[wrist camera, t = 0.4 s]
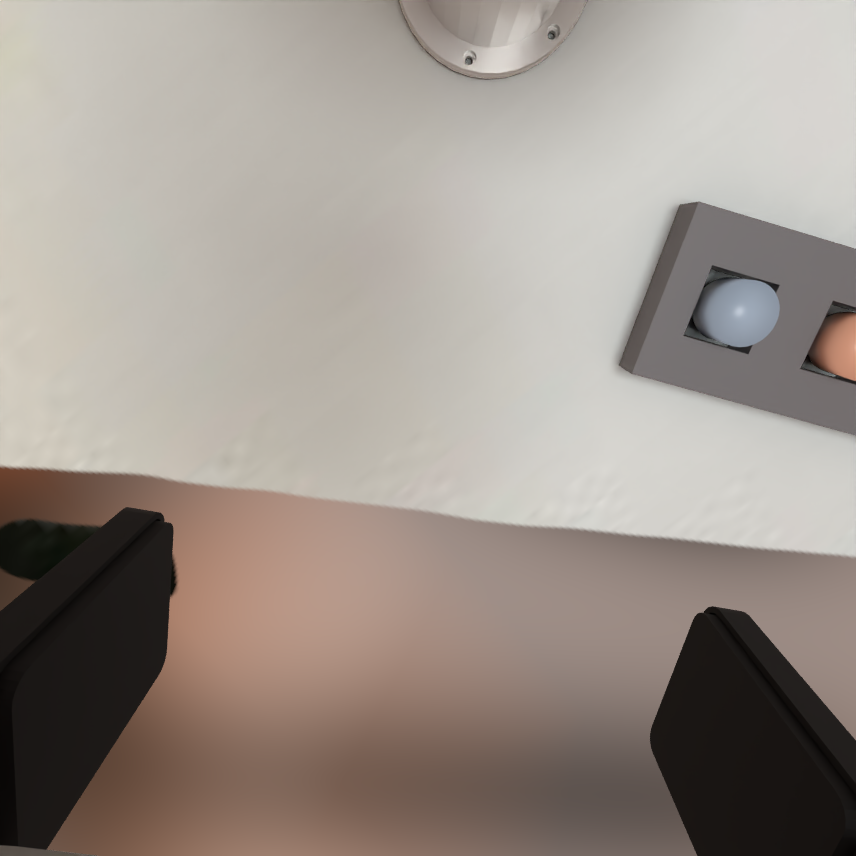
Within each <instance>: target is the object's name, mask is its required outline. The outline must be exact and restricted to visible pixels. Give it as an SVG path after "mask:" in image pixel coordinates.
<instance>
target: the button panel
mask: <svg viewBox="0 0 856 856" xmlns="http://www.w3.org/2000/svg"><path fill="white" fill-rule="evenodd" d="M711 269H713V270H716V271H720V272H723V273H726V274H730V275H733V276H737V277H740V278H744V279H748V280H757V281H761V282H764V283H766V284H767V285H769V286H770V287H771V288H772V289H773V290H774V291H775V293H776V295H777V297H778V300H779V305H780V311H779V317H778V320H777V322H776V324H775V326H774V328H773V329H772V331H771V332H770V333H769V334H768V335H767V336H766V337H765V338H764V339H763V340H761V341H760V342H758V343H756V344H754V345H751V346H746V347H734V346H730V345H729V346H728V347H725V346H722V345H718V344H715V343H711V342H708V341H704V340H701V339H697V338H693V337H690V336H686V335H684V333H685V331H686V328H687V326H688V323H689V321H690V318H691V316H692V313H693V311H694V309H695V306H696V304H697V301H698V299H699V296H700V294H701V291H702V289H703V287H704V284H705V282H706V279H707V277H708V274H709V272H710V270H711ZM831 304H832V305H836V306H839V307H843V308H846V309H850V310H853V311H856V249H854V248H851V247H848V246H844V245H841V244H838V243H834V242H831V241H828V240H824V239H821V238H818V237H815V236H811V235H808V234H805V233H801V232H798V231H795V230H791V229H788V228H785V227H781V226H778V225H775V224H771V223H768V222H765V221H761V220H758V219H755V218H751V217H748V216H745V215H741V214H738V213H735V212H731V211H728V210H725V209H721V208H718V207H715V206H712V205H708V204H705V203H702V202H694V203H688V204H682V205H680V207H679V209H678V212H677V214H676V217H675V220H674V222H673V225H672V228H671V230H670V233H669V235H668V238H667V241H666V243H665V246H664V249H663V251H662V254H661V256H660V259H659V262H658V264H657V267H656V270H655V272H654V275H653V277H652V280H651V283H650V285H649V288H648V291H647V293H646V296H645V298H644V301H643V304H642V306H641V309H640V312H639V314H638V317H637V319H636V322H635V325H634V327H633V330H632V333H631V335H630V338H629V340H628V343H627V346H626V348H625V351H624V354H623V356H622V359H621V361H620V364H619V366H621V367H622V368H624V369H626V370H627V371H629V372H630V373H632V374H635V375H639V376H642V377H646V378H650V379H653V380H657V381H660V382H664V383H668V384H671V385H675V386H679V387H682V388H686V389H689V390H693V391H697V392H700V393H704V394H708V395H711V396H715V397H719V398H722V399H726V400H729V401H733V402H737V403H740V404H744V405H748V406H751V407H755V408H758V409H762V410H766V411H769V412H773V413H777V414H780V415H784V416H787V417H791V418H795V419H798V420H802V421H806V422H809V423H813V424H816V425H820V426H824V427H827V428H831V429H835V430H838V431H842V432H845V433H849V434H853V435H856V381H854V380H851V379H848V378H844V377H841V376H838V375H837V376H836V378H835V377H831V376H828V375H824V374H821V373H817V372H814V371H810V370H807V369H803V368H801V366H802V364H803V362H804V360H805V358H806V356H807V353H808V351H809V349H810V347H811V345H812V343H813V341H814V339H815V337H816V335H817V333H818V331H819V329H820V327H821V324H822V322H823V320H824V318H825V316H826V314H827V312H828V310H829V308H830V306H831Z"/></svg>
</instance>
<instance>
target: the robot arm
mask: <svg viewBox="0 0 856 856" xmlns="http://www.w3.org/2000/svg"><path fill="white" fill-rule="evenodd" d="M399 2H400V5H401V9H402V12H403V14H404V16H405V18H406V21H407V23H408V25H409V27H410V29H411V31H412V32H413V34H414V35H415V37H416V38H417V39H418V41H419V42H420V44H421V45H422V46H423V48H425V49H426V50H427V51H428V52H429V53H430V54H431V55H432V56H433V57H434V58H435V59H436V60H437V61H439V62H440V63H442V64H443V65H445V66H447V67H448V68H450V69H451V70H453V71H456V72H459V73H461V74H464V75H467V76H470V77H477V78H484V79H494V78H506V77H509V76H512V75H516V74H519V73H522V72H525V71H526V70H528V69H530V68H532V67H534V66H536V65H537V64H539V63H541V62H542V61H543V60H544V59H546V58H547V57H548V56H549V55H551V54H552V53H553V52H554V51H555V50H556V49H557V48H558V47H559V46H560V44H561V43H562V42H563V41H564V40H565V39H566V37H567V36H568V35H569V33H570V32H571V30H572V29H573V27H574V26H575V24H576V23H577V21H578V19H579V17H580V15H581V13H582V11H583V9H584V7H585V5H586V3H587V0H399ZM548 33H553V34H554V36H555V38H554V39H553V40H551V39H549V38H548ZM467 58H471V59H472V61H473V63H472V64H471V65H467V64H466V63H465V60H466V59H467ZM172 548H173V526H172V524H171V523H167V522H164V517H163V515H162V514H161V513H159V512H153V511H147V510H141V509H136V508H129V507H126V508H124V509H123V510H121V511H120V512H119V513H118V514H117V515H115V516H114V517H113V518H112V519H111V520H109V522H107V523H106V524H105V525H103V526H102V527H101V528H100V529H99V530H98V531H96V532H95V533H94V534H93V535H92V536H90V537H89V538H88V539H87V540H86V541H84V542H83V543H82V544H81V545H80V546H79V547H77V548H76V549H75V550H74V551H73V552H71V553H70V554H69V555H68V556H67V557H66V558H64V559H63V560H62V561H61V562H60V563H58V564H57V565H56V566H55V567H54V568H52V569H51V570H50V571H49V572H48V573H47V574H45V575H44V576H43V577H42V578H41V579H39V580H38V581H36V582H35V583H34V584H32V585H31V586H30V587H29V588H28V589H27V590H25V591H24V592H23V593H22V594H20V595H19V596H18V597H17V598H16V599H14V600H13V601H12V602H11V603H10V604H9V605H7V606H6V607H5V608H4V609H3V610H1V611H0V856H95V855H86V854H78V853H69V852H60V851H52V850H46V849H47V848H48V846H49V845H50V843H51V842H52V840H53V838H54V837H55V835H56V834H57V832H58V831H59V829H60V828H61V826H62V824H63V823H64V821H65V820H66V818H67V817H68V815H69V814H70V812H71V810H72V809H73V807H74V806H75V804H76V803H77V801H78V799H79V798H80V797H81V795H82V793H83V792H84V790H85V789H86V787H87V786H88V784H89V782H90V781H91V779H92V778H93V776H94V775H95V773H96V772H97V770H98V769H99V767H100V765H101V764H102V762H103V761H104V759H105V758H106V756H107V755H108V753H109V751H110V750H111V748H112V747H113V745H114V744H115V742H116V741H117V739H118V737H119V736H120V734H121V733H122V731H123V730H124V728H125V727H126V725H127V723H128V722H129V720H130V719H131V717H132V716H133V714H134V713H135V711H136V709H137V708H138V706H139V705H140V703H141V701H142V700H143V699H144V697H145V696H146V694H147V692H148V691H149V689H150V688H151V686H152V685H153V683H154V681H155V680H156V678H157V677H158V675H159V673H160V672H161V670H162V667H163V665H164V662H165V657H166V653H167V639H168V620H169V602H170V584H171V566H172ZM650 743H651V749H652V751H653V754H654V756H655V758H656V761H657V763H658V766H659V768H660V770H661V773H662V775H663V777H664V780H665V782H666V784H667V787H668V789H669V791H670V794H671V796H672V798H673V801H674V803H675V805H676V807H677V810H678V812H679V814H680V817H681V819H682V821H683V824H684V826H685V828H686V830H687V833H688V835H689V838H690V840H691V842H692V844H693V847H694V849H695V851H696V854H697V856H856V740H855V739H854V738H853V737H852V736H851V734H850V733H849V732H848V731H847V730H846V729H845V727H844V726H843V725H842V724H841V723H840V722H839V720H838V719H837V718H836V717H835V716H834V715H833V713H832V712H831V711H830V710H829V709H828V707H827V706H826V705H825V704H824V703H823V702H822V701H821V699H820V698H819V697H818V696H817V695H816V693H815V692H814V691H813V690H812V689H811V688H810V686H809V685H808V684H807V683H806V682H805V681H804V679H803V678H802V677H801V676H800V675H799V674H798V672H797V671H796V670H795V669H794V668H793V667H792V665H791V664H790V663H789V662H788V661H787V659H786V658H785V657H784V656H783V655H782V654H781V652H779V650H778V649H777V648H776V647H775V646H774V644H773V643H772V642H771V641H770V640H769V638H768V637H767V636H766V635H765V634H764V633H763V631H762V630H761V629H760V628H759V627H758V626H757V624H756V623H755V622H754V621H753V620H752V619H751V617H750V616H749V615H748V614H746V613H745V612H742V611H737V610H731V609H725V608H719V607H713V606H712V607H708V608H707V609H706V610H705V611H704V613H698V614H697V615H696V616H695V618H694V619H693V622H692V624H691V627H690V629H689V632H688V635H687V637H686V640H685V643H684V645H683V647H682V650H681V653H680V655H679V658H678V660H677V663H676V666H675V668H674V671H673V673H672V676H671V678H670V681H669V684H668V686H667V689H666V691H665V694H664V697H663V699H662V702H661V704H660V707H659V710H658V712H657V715H656V717H655V720H654V722H653V725H652V728H651V733H650Z"/></svg>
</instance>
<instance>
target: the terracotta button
mask: <svg viewBox="0 0 856 856" xmlns="http://www.w3.org/2000/svg"><path fill="white" fill-rule="evenodd" d="M808 354H809V357H810V360H811V361H812V363H813V364H814V365H815V366H816V367H817V368H819V369H821V370H823V371H826V372H829V373H832V374H835V375H838V376H841V377H844V378H848V379H851V380H854V381H856V313H853V312H839V313H835V314H832V315H830V316H828V317H827V318H825V319H824V320H823V322H822V324H821V327H820V329H819V331H818V333H817V335H816V337H815V339H814V341H813V343H812V345H811V347H810V349H809V351H808Z"/></svg>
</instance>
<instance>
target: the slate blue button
mask: <svg viewBox="0 0 856 856" xmlns="http://www.w3.org/2000/svg"><path fill="white" fill-rule="evenodd" d="M779 311H780V305H779V300H778V297H777V295H776V293H775V291H774V290H773V289H772V288H771V287H770V286H769V285H767V284H766V283H764V282H761V281H757V280H748V279H739V278H721V279H718V280H715V281H713V282H711V283H710V284H708V285H707V286H706V287H705V288H704V289H703V290H702V291H701V294H700V296H699V299H698V301H697V304H696V306H695V309H694V311H693V320H694V324H695V326H696V328H697V329H698V331H699V332H700V333H701V334H702V335H704V336H705V337H707V338H710V339H713V340H716V341H719V342H722V343H725V344H727V345H730V346H734V347H746V346H751V345H754V344H756V343H758V342H760V341H761V340H763V339H764V338H765V337H766V336H767V335H768V334H769V333H770V332H771V331H772V329H773V328H774V326H775V324H776V322H777V320H778V317H779Z"/></svg>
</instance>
